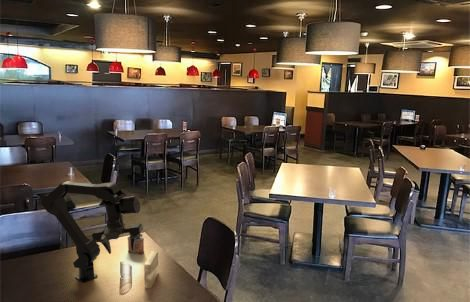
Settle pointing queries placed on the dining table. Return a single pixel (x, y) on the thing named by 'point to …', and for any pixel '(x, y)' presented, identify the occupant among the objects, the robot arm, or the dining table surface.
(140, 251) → the brown upright container
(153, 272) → the brown tile
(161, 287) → the dining table surface
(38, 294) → the dining table surface
